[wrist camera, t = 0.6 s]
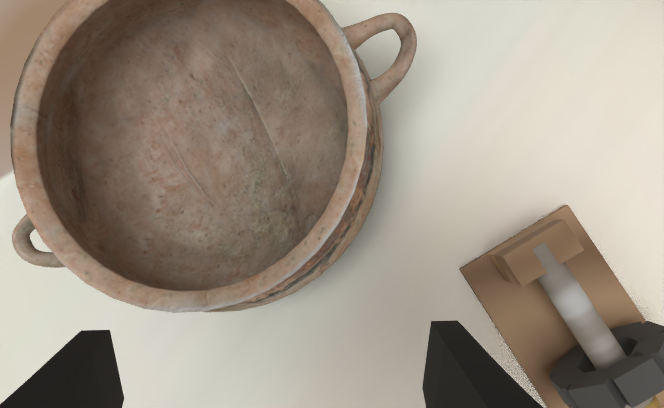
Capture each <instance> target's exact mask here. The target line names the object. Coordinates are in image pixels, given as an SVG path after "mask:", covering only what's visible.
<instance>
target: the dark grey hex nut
mask: <svg viewBox="0 0 664 408" xmlns="http://www.w3.org/2000/svg"><path fill="white" fill-rule="evenodd" d="M609 330H610V331H611V333H612V334H613V336H614V337H615V339H616V340H617V342H618V343H619V345H620V346H621V348H622V349H623V351H624V352H625V354H626V355H627V357H626V358H624V359H622V360H621V361H619V362H617V363H615V364H614V365H612V366H610V367H609V368H606V369H601V370H596V369H595V367H594V365H593V364H592V362H591V361H590V359H589V358H588V356H587V355H586V353H585V352H584V350H583V349H582V347H581V346H580V345H578V346H577V347H575V348H573V349H571V350H570V351H569V353H570V354H568V355H564V356H563V357H562V358H561V359H560V361H559V362H558V364H557V365H556V366H555V368H554V369H553V370H552V372H551V373H550V377H551V378H549V380H550V381H551V383H552V384H553V386H554V387H555V389H556V391H557V392H558V394H559V395H560V397H561V398H562V400H563V401H564V403H565V404H566V405H567V406H568V407H569V408H625V406H626V404H627V405H628V406H630V407H631V408H634V407H636V406H637V405H639V404H641V403H643V402H644V401H646V400H648V399H650V398H651V397H653V396H655V395H656V394H658V393H660V392H662V391H663V390H664V326H661V325H658V324H655V323H652V322H649V321H646V322H645V323H643V324H642V322H641V321H640V322H636V323H632V324H628V325H624V326H620V327H617V328H613V329H609Z"/></svg>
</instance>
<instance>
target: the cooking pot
mask: <svg viewBox="0 0 664 408" xmlns="http://www.w3.org/2000/svg"><path fill="white" fill-rule="evenodd" d="M389 29H394V30H395V31H396V33H397V34H398V36H399V38H400V40H401V49H400V52H399V54H398V56H397V58H396V60H395V62H394V64H393V65H392V66H391V68H390V69H389V70H388V71H387V72H385V73H384V74H383V75H381V76H380V77H378V78H376V79H373V80H370V77H369V75H368V73H367V71H366V69H365V66H364V64H363V62H362V60H361V59H360V57H359V56H358V54H357V53H356V51H355V49H357V48H358V47H359V46H360V45H361V44H362V43H363V42H365V41H366V40H367V39H369V38H370V37H372V36H373V35H375V34H377V33H380V32H382V31H385V30H389ZM416 47H417V39H416V33H415V30H414V28H413V26H412V25H411V23H410V22H409V20H408V19H407V18H406V17H404V16H403V15H401V14H397V13H386V14H381V15H378V16H375V17H372V18H370V19H368V20H365V21H363V22H360V23H357V24H354V25H351V26H348V27H344V28H340V27H339V25H338V24H337V22H336V21H335V19H334V18H333V16H332V15H331V14H330V12H329V11H328V9H327V8H326V7H325V6H324V5H323V4H322V3H321V2H320V1H319V0H68V1H67V2H66V3H65V4H64V5H63V6H62V7H61V8H60V9H59V10H58V11H57V12H56V13H55V15H54V16H53V18H52V19H51V20H50V22H49V23H48V24H47V26H46V27H45V28H44V30H43V31H42V33H41V34H40V35H39V37H38V39H37V41H36V42H35V45H34V47H33V49H32V50H31V52H30V54H29V56H28V58H27V60H26V62H25V64H24V67H23V70H22V74H21V76H20V80H19V83H18V86H17V89H16V93H15V97H14V104H13V111H12V117H11V124H10V127H11V158H12V163H13V169H14V174H15V179H16V185H17V188H18V191H19V193H20V196H21V199H22V201H23V204H24V207H25V209H26V212H27V214H26V215H25V216H24V217H23V218H22V219H21V221H20V222H19V223H18V224H17V225H16V227H15V229H14V231H13V234H12V242H13V246H14V248H15V250H16V252H17V253H18V255H19V256H20V257H21V258H22V259H24V260H25V261H27V262H29V263H31V264H34V265H38V266H43V267H55V268H57V267H67V268H68V269H69V270H71V271H72V272H73V273H74V274H75V275H77V276H78V277H79V278H80V279H81V280H83V281H84V282H85V283H86V284H88V285H90V286H92V287H94V288H95V289H97V290H99V291H101V292H103V293H105V294H106V295H108V296H110V297H112V298H114V299H117V300H120V301H123V302H126V303H129V304H132V305H135V306H138V307H141V308H145V309H152V310H159V311H167V312H174V313H175V312H197V311H202V312H224V311H240V310H244V309H248V308H253V307H257V306H261V305H266V304H269V303H271V302H273V301H276V300H278V299H280V298H283V297H285V296H287V295H290V294H292V293H294V292H296V291H297V290H299V289H300V288H302V287H303V286H305V285H307V284H308V283H310V282H311V281H313V280H314V279H316V278H317V277H319V276H320V275H321V274H322V273H323V272H324V271H325V270H326V269H327V268H328V267H329V266H331V265H332V264H333V263H334V262H335V261H336V260H337V259H338V258H339V257H340V256H341V255H342V254H343V252H344V251H345V250H346V248H347V247H348V246H349V244H350V243H351V242H352V240H353V239H354V238H355V236H356V235H357V233H358V232H359V230H360V228H361V226H362V224H363V222H364V220H365V218H366V216H367V214H368V212H369V210H370V208H371V206H372V203H373V200H374V197H375V193H376V190H377V186H378V183H379V180H380V175H381V166H382V157H383V148H384V146H383V130H382V117H381V113H380V109H379V104H380V103H381V102H382V101H383V100H384V99H385V98H386V97H387V96H388V95H389V94H390V92H391V91H392V90H393V89H394V88H395V87H396V86H397V85H398V84H399V83H400V82H401V80H402V79H403V78H404V76H405V75H406V73H407V72H408V70H409V68H410V66H411V63H412V61H413V58H414V55H415V52H416ZM35 228H36V230H37V232H38V233H39V235H40V237H41V239H42V240H43V242H44V243H45V244H46V245H47V246H48V247H49V249H50V250H51V251H52V252H53V253H52V252H42V251H39V250H37V249H35V247H34V246H33V244H32V242H31V240H30V233H31V232H32V231H33V230H34V229H35Z"/></svg>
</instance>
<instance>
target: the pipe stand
mask: <svg viewBox="0 0 664 408" xmlns="http://www.w3.org/2000/svg"><path fill="white" fill-rule="evenodd" d="M460 271H461V272H462V274H463V275H464V277H465V279H466V280H467V282H468V283H469V285H470V286H471V288H472V290H473V291H474V293H475V294H476V296H477V297H478V299H479V301H480V302H481V304H482V305H483V307H484V308H485V310H486V312H487V313H488V315H489V316H490V318H491V319H492V321H493V323H494V324H495V326H496V327H497V329H498V330H499V332H500V334H501V335H502V337H503V338H504V340H505V341H506V343H507V345H508V346H509V348H510V349H511V351H512V352H513V354H514V356H515V357H516V359H517V360H518V362H519V363H520V365H521V367H522V368H523V370H524V371H525V373H526V375H527V376H528V378H529V379H530V381H531V382H532V384H533V386H534V387H535V389H536V390H537V392H538V393H539V395H540V397H541V398H542V400H543V401H544V403H545V404H546V406H547V408H569V407H568V406H567V405H566V404H565V403H564V401H563V400H562V398H561V397H560V395H559V394H558V392H557V391H556V389H555V387H554V386H553V384H552V383H551V381H550V380H549V378H551V377H550V373H551V372H552V370H553V369H554V368H555V366H556V365H557V364H558V362H559V361H560V359H561V358H562V357H563V356H564V355H568V354H570V353H569V351H570V350H571V349H573V348H575V347H577V346H578V345H580V346H581V347H582V349H583V350H584V352H585V353H586V355H587V356H588V358H589V359H590V361H591V362H592V364H593V365H594V367H595V369H596V370H601V369H606V368H609V367H610V366H612V365H614V364H615V363H617V362H619V361H621V360H622V359H624V358H626V357H627V355H626V354H625V352H624V351H623V349H622V348H621V346H620V345H619V343H618V342H617V340H616V339H615V337H614V336H613V334H612V333H611V331H610V330H609V329H613V328H617V327H620V326H624V325H628V324H632V323H636V322H640V321H641V322H642V324H643V323H645V322H646V321H645V319H644V318H643V316H642V315H641V313H640V312H639V310H638V309H637V307H636V306H635V304H634V303H633V301H632V300H631V298H630V297H629V295H628V294H627V292H626V291H625V289H624V288H623V286H622V285H621V283H620V282H619V281H618V279H617V278H616V276H615V275H614V273H613V272H612V270H611V269H610V267H609V266H608V264H607V263H606V261H605V260H604V258H603V257H602V255H601V254H600V252H599V251H598V249H597V248H596V246H595V245H594V243H593V242H592V240H591V239H590V237H589V236H588V234H587V233H586V231H585V230H584V228H583V227H582V225H581V224H580V222H579V221H578V219H577V218H576V216H575V215H574V213H573V212H572V210H571V209H570V207H569V206H568V205H565V206H563V207H561V208H559V209H558V210H556V211H554V212H553V213H551V214H549V215H548V216H546V217H544V218H543V219H541V220H539V221H538V222H536V223H534V224H533V225H531V226H530V227H528V228H526V229H525V230H523V231H521V232H520V233H518V234H516V235H515V236H513V237H511V238H510V239H508V240H506V241H505V242H503V243H501V244H500V245H498V246H497V247H495V248H493V249H492V250H490V251H488V252H487V253H485V254H483V255H482V256H480V257H478V258H477V259H475V260H473V261H472V262H470V263H468V264H467V265H465V266H464V267H462V268H460ZM625 408H631V407H630V406H628V405H627V404H626V406H625ZM634 408H664V390H663V391H662V392H660V393H658V394H656V395H655V396H653V397H651V398H650V399H648V400H646V401H644V402H643V403H641V404H639V405H637V406H636V407H634Z"/></svg>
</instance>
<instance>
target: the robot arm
mask: <svg viewBox="0 0 664 408" xmlns="http://www.w3.org/2000/svg"><path fill="white" fill-rule="evenodd" d="M423 393H424V398H425V403H426V408H543V407H542V406H541V405H540V404H539V403H537V402H536V401H535V400H534V399H533V398H532V397H531V396H530V395H529V394H528V393H527V392H526V391H525V390H524V389H523V388H522V387H521V386H520V385H519V384H518V383H517V382H516V381H515V380H514V379H513V378H512V377H511V376H509V375H508V374H507V373H506V372H505V371H504V369H503V368H502V367H501V366H500V365H499V364H498V363H497V362H496V361H495V360H494V359H493V358H492V357H491V356H490V355H489V354H488V353H487V352H486V351H485V350H484V349H483V347H482V346H481V345H480V344H479V343H478V342H477V341H476V340H475V339H474V338H473V337H472V336H471V335H470V333H469V332H468V331H467V330H466V329H465V328H464V327H463V326H462V325H461V324H460V323H459V322H458V321H431V327H430V335H429V343H428V350H427V358H426V365H425V373H424V380H423ZM123 401H124V396H123V391H122V386H121V382H120V377H119V372H118V367H117V362H116V358H115V353H114V348H113V343H112V339H111V334H110V330H91V331H81V332H79V333H78V334H77V335H76V336H75V337H74V338H73V339H72V340H70V341H69V342H68V343H67V344H66V345H65V346H64V347H63V348H62V349H61V350H60V351H59V352H57V353H56V354H55V355H54V356H53V357H52V358H51V359H50V360H49V361H48V362H47V363H46V364H45V365H43V366H42V367H41V368H40V369H39V370H38V371H37V372H36V373H35V374H34V375H33V376H32V377H30V378H29V379H28V380H27V381H26V382H25V383H24V384H23V385H22V386H20V387H19V388H18V389H17V390H16V391H15V392H14V393H13V394H12V395H10V396H9V397H8V398H7V399H6V400H5V401H4V402H2V403H1V404H0V408H122V405H123Z"/></svg>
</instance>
